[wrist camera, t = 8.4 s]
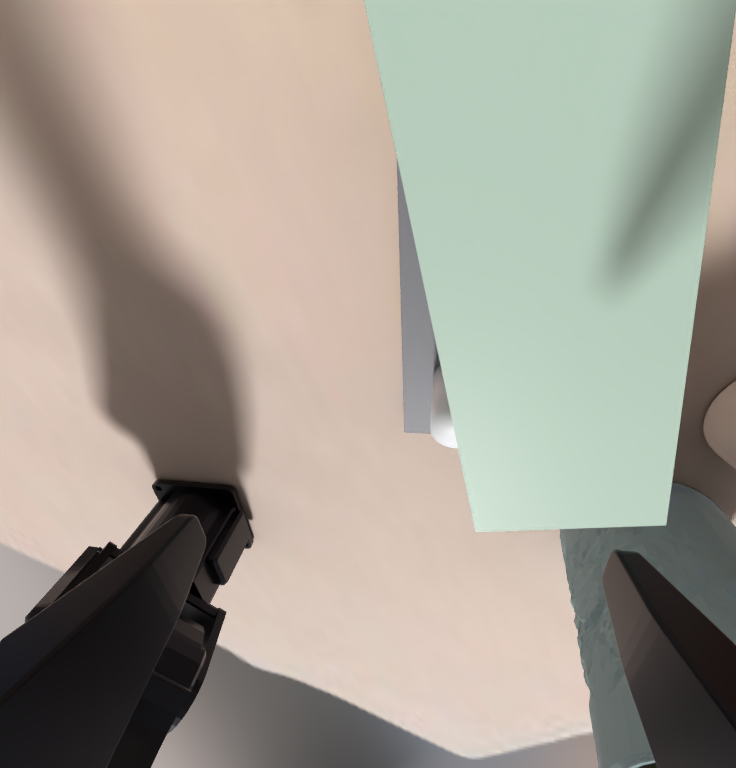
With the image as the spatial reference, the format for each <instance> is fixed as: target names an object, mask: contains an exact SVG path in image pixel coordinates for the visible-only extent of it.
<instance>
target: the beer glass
mask: <svg viewBox="0 0 736 768" xmlns="http://www.w3.org/2000/svg"><path fill="white" fill-rule="evenodd" d="M703 432H704V436H705V439H706V441H707V443H708V445H709V446H710V447H711V449H712V450H713V451H714V452H715V453H716V454H717V455H719V456H720V457H721V458H722V459H724V460H725V461H726V462H728V463H729V464H730V465H732V466H733V467H734V468H736V381H734V382H733V383H731V384H730V385H729V386H728V387H726V388H725V389H724V390H723V391H722V392H721V393H720V394H719V395H718V396H717V397H716V398H715V400H714V401H713V402H712V404H711V405H710V407H709V408H708V410H707V412H706V415H705V418H704V422H703Z"/></svg>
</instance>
